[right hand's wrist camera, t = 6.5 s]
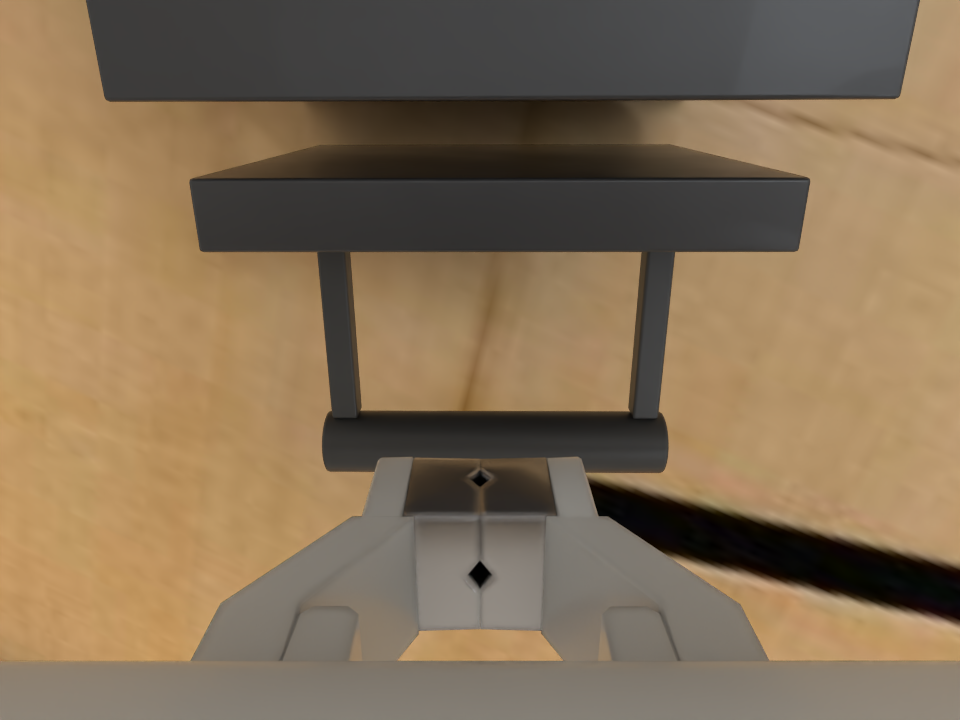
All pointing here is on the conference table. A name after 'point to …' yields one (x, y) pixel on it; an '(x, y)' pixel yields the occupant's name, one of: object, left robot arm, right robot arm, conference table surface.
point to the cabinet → (500, 49)
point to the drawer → (498, 228)
